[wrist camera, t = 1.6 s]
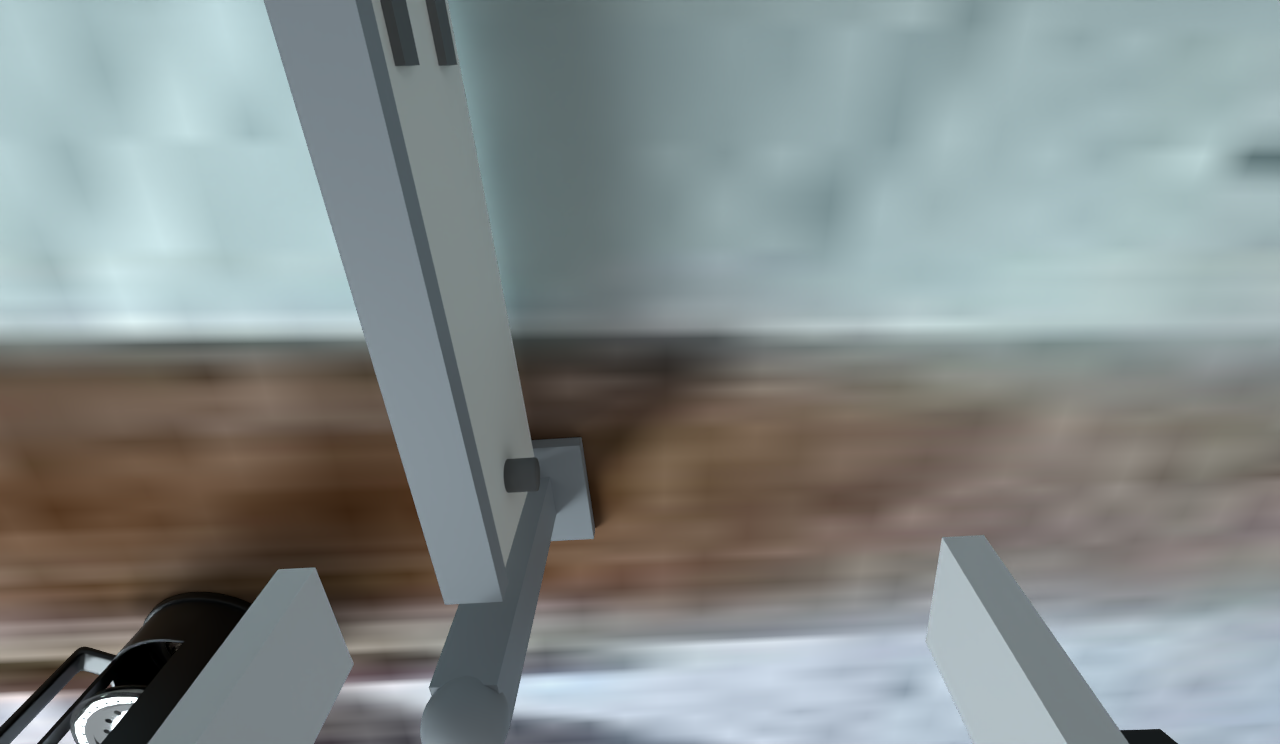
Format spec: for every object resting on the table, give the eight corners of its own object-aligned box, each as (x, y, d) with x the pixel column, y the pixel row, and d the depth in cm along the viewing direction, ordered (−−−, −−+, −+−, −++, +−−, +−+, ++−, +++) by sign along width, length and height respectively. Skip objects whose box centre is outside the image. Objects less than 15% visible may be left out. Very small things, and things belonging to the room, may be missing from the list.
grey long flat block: (373, -98, 22) (205, -194, 14) (462, -108, 21) (346, -211, 13) (498, 466, 32) (445, 604, 24) (559, 463, 32) (526, 600, 23)
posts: (296, -258, 21) (-344, -830, 8) (474, -281, 21) (135, -924, 7) (489, 534, 36) (387, 822, 22) (595, 528, 35) (557, 817, 22)
